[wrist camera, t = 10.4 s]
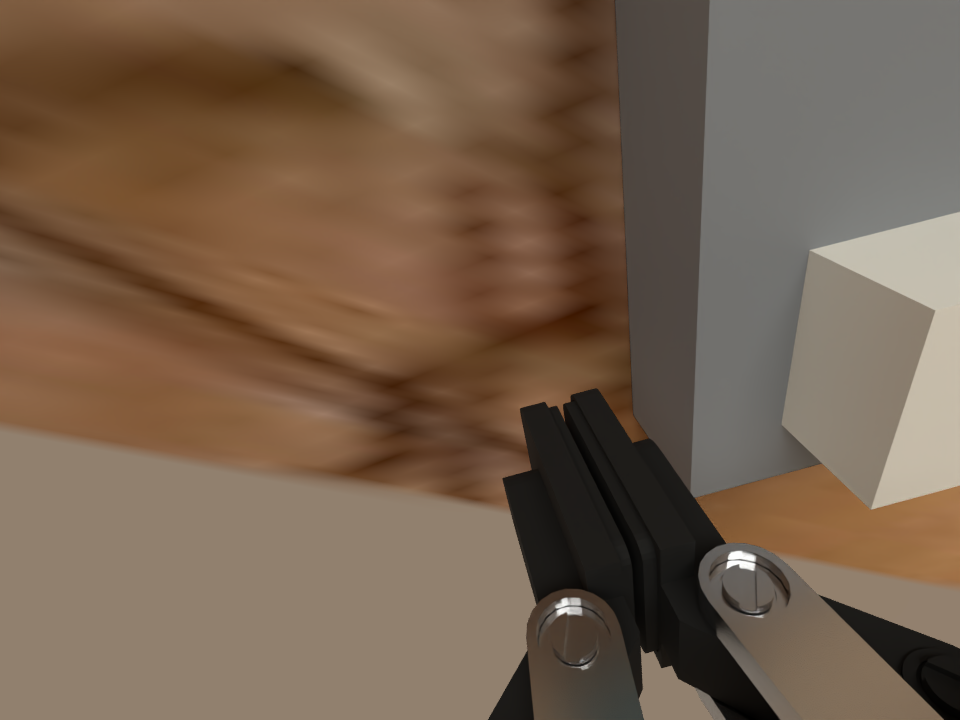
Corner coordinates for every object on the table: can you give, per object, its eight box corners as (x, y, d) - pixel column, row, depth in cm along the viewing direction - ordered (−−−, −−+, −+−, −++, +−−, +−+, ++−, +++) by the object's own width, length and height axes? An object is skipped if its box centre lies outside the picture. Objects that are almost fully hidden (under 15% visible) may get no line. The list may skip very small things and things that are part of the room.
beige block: (1026, 194, 11) (1213, 238, 9) (956, 378, 14) (1083, 451, 11) (809, 250, 11) (935, 310, 9) (781, 424, 14) (870, 509, 11)
